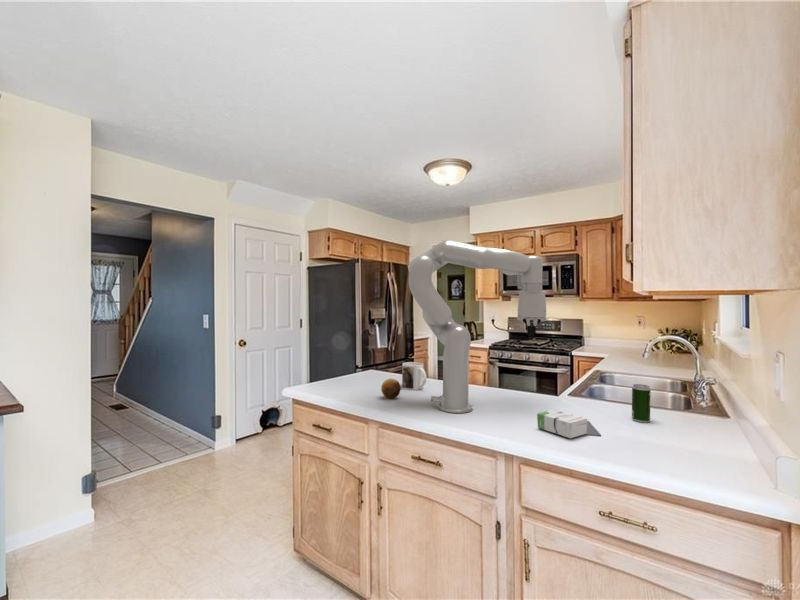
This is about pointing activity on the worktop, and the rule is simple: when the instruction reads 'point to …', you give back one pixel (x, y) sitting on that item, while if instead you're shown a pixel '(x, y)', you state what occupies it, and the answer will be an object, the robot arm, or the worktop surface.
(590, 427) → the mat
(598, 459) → the worktop surface
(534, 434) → the worktop surface
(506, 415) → the worktop surface
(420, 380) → the mug
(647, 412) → the beer can
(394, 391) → the fruit
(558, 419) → the ink box
